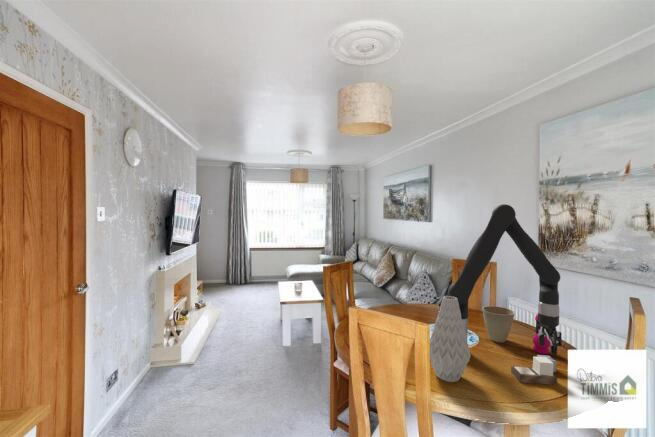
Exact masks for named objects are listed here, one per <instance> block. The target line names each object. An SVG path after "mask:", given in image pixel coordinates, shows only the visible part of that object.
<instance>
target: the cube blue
mask: <svg viewBox="0 0 655 437" xmlns="http://www.w3.org/2000/svg"><path fill="white" fill-rule="evenodd" d="M536 357H546V358H548V359H549V360H550V361H551V362H553V363H554V364H553V373H554V372H557V370H556V369H557V361H556V360H555V359H554V358H552V356H550V355H547V354H536Z"/></svg>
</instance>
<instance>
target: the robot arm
mask: <svg viewBox="0 0 655 437" xmlns="http://www.w3.org/2000/svg"><path fill="white" fill-rule="evenodd" d="M516 216H517V215H516V211H515V208H513V207H512V205H510V204H499V205H497V206H496V207H494V208H493V210H492V212H491V215H490V218H489V221H488V223H487V226H486V227H485V229H484V231H483V232H482V233H481V235H480V236H479V237H478V238H477V240H476V241H475V242H474V244H473V246H472V247H471V249H470V251H469V253H468V255H467V256H466V260H465V262H464V265H463V268H462V271H461V272H460V275H459V277H458V279H457V280H456V281H454V282H452V283H451V284H449V286H448V288H447V296H452V297H456V298H457V299H458V303H459V309H460V312H461V318H462V322H463V325H464V330H465V334H466V337H467V338H468V337H469V336H468V334H469V333H468V331H469V328H468V327H469V299H470V297H471V294H472V292H473V291H474V290H473V289H474V288H475V286H476V283H477V282H478V280H479V279H480V277H481V275H483V272H485V270H486V268H487V267H488V265H489V263H490V262H491V260H492V258H493V256H494V254H495V252H496V251H497V248H498V246H499V243H500V241H501V238H502V237H503V236H504V235H505V232H506V233H507V235H508V236H509V238H511V240H512V241H513V242H514V244H515V245H516V247H517V248H518V250H519V251H520V253H521V254H522V255H523V257H524V258H525V259H526V261H527V262H528V263H529V264H530V265H531V266H532V269H533V270H534V271H535V272H536V274H537V276H538V281H539V293H538V305H537V314H538V321H536V320H535V331H534V332H535V334H536V333H537V334H538V336H539V345H540V346H544V345H545V336H547V338H548V340H549V341H550V343H551V345H550V349H549V353H550V354H551V355H557V354H558V347H562V332H561V331H557V328H556V327H558V326H559V325H560V293H559V282H560V280H561V274H560V272H559V271H558V269H556V267H555V266H554V265H553V264H552V263H551V261H550V260H549V259H548V258H547V255H546V254H545V253H544V252H543V250H542V249H541V247H540V246H539V245H538V244H537V242H535V241H534V239H533V238H532V237H531V236H530V235H529V234H528V233H527V232H526V231H525V230H524V228H523V226H521V224H520V223H519V221H518V219H517V218H516ZM538 329H540V330H539V331H538Z"/></svg>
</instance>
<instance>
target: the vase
mask: <svg viewBox="0 0 655 437" xmlns="http://www.w3.org/2000/svg"><path fill="white" fill-rule="evenodd" d="M429 340H430V356H429V357H430V363H431V366H432V368H433V370H434V372H435V375H436V377H437V378H439V379H440V380H442V381H444V382H448V383H456V382H459V380H460V379H461V377H462V375H464V373H465V370H466V368H467V365H468V363H469V362H470V358H471V352H470V346H469V344H468V336H467V337H466V334H465V330H464V325H463V322H462V318H461V312H460V309H459V303H458V299H457V298H456V297H452V296H448V295H444V296H442V300H441V304H440V306H439V311H438V313H437V317H436V320H435V322H434V325H433V329H432V333H431V335H430V338H429Z"/></svg>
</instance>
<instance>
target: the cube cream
mask: <svg viewBox="0 0 655 437" xmlns="http://www.w3.org/2000/svg"><path fill="white" fill-rule="evenodd" d="M553 364H554V363H553V362H551V361H550V360H549V359H548V358H546V357H537V356H533V357H532V367H533V369H534V370H535V371H536V372H537V373H538V374H540V375H552V376H553V374H554V372H553Z"/></svg>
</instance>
